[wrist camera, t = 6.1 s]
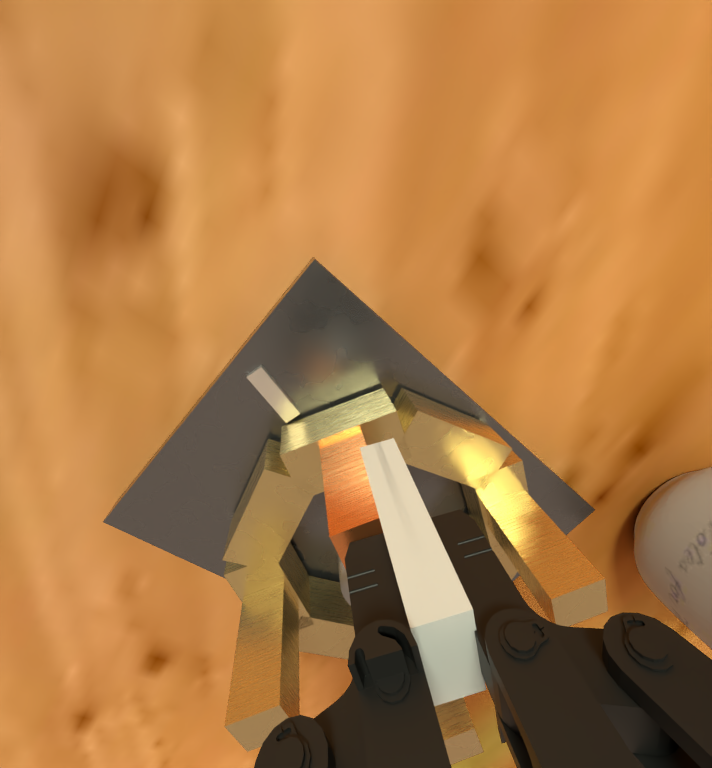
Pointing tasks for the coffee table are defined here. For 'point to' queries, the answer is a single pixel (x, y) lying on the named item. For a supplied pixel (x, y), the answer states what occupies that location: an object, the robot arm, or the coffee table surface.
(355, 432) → the ring nut
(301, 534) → the housing
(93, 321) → the coffee table surface
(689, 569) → the teacup
